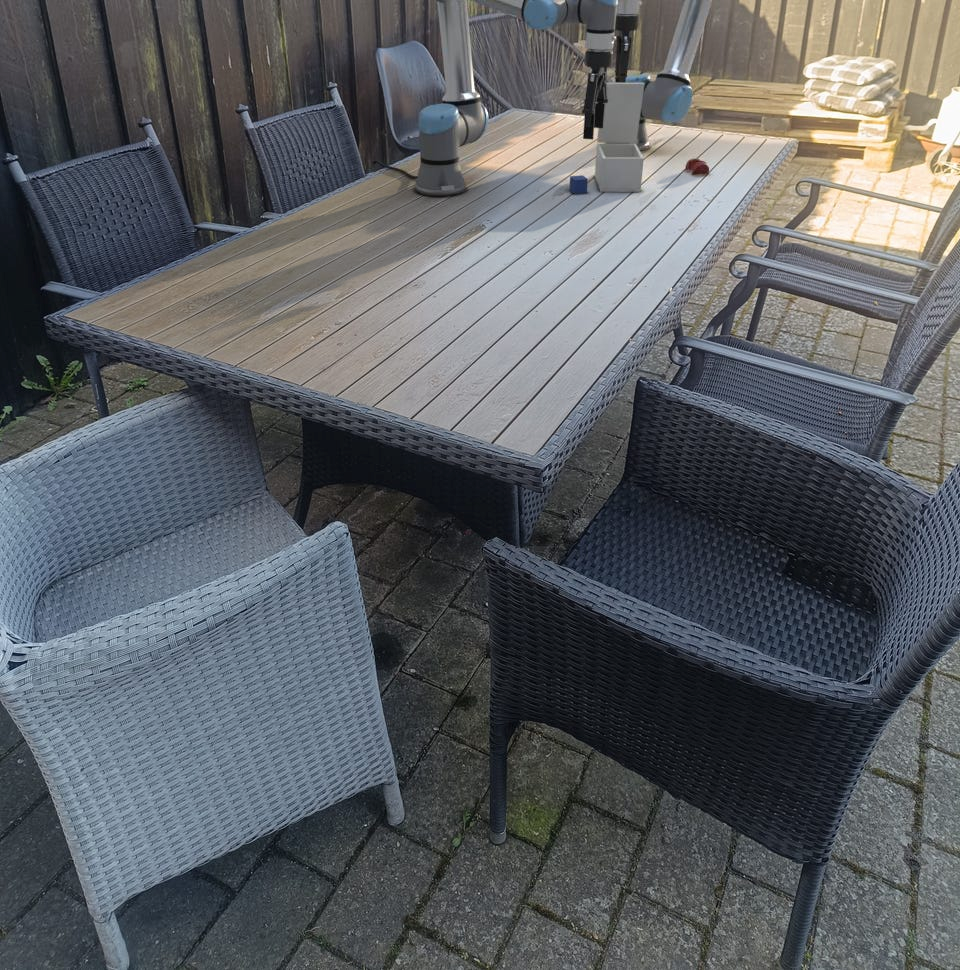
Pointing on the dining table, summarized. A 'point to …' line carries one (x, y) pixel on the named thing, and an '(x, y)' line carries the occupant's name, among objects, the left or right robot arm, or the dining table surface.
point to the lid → (621, 113)
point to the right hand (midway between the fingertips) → (618, 100)
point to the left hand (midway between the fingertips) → (593, 133)
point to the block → (578, 184)
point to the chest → (618, 167)
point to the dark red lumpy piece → (697, 166)
